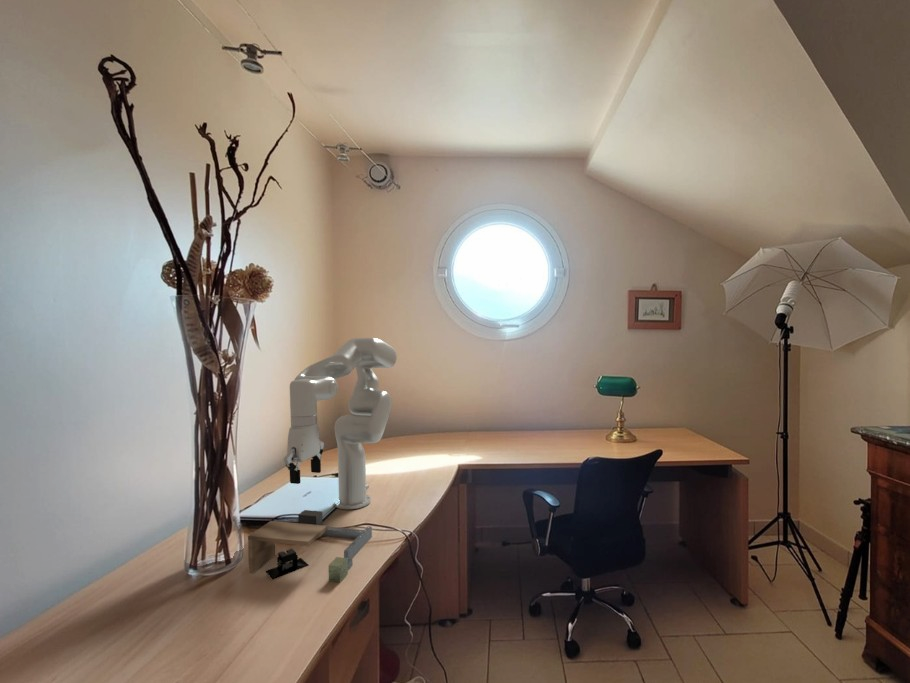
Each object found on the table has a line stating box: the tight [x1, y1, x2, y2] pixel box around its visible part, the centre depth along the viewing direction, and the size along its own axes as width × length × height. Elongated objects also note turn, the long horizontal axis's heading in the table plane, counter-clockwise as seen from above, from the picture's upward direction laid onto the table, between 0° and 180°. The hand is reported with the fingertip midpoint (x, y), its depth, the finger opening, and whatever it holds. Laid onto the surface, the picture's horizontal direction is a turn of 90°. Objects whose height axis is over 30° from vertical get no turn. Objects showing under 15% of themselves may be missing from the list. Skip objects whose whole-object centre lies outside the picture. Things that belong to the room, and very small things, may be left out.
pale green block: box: [327, 556, 354, 584], centre depth 107 cm, size 8×3×4 cm, turn 167°
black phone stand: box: [265, 548, 310, 580], centre depth 110 cm, size 12×7×5 cm, turn 132°
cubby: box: [247, 520, 328, 574], centre depth 110 cm, size 9×17×10 cm, turn 77°
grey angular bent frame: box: [297, 509, 373, 560], centre depth 122 cm, size 23×16×6 cm
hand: (306, 477), depth 128 cm, fingers open, 9 cm apart
